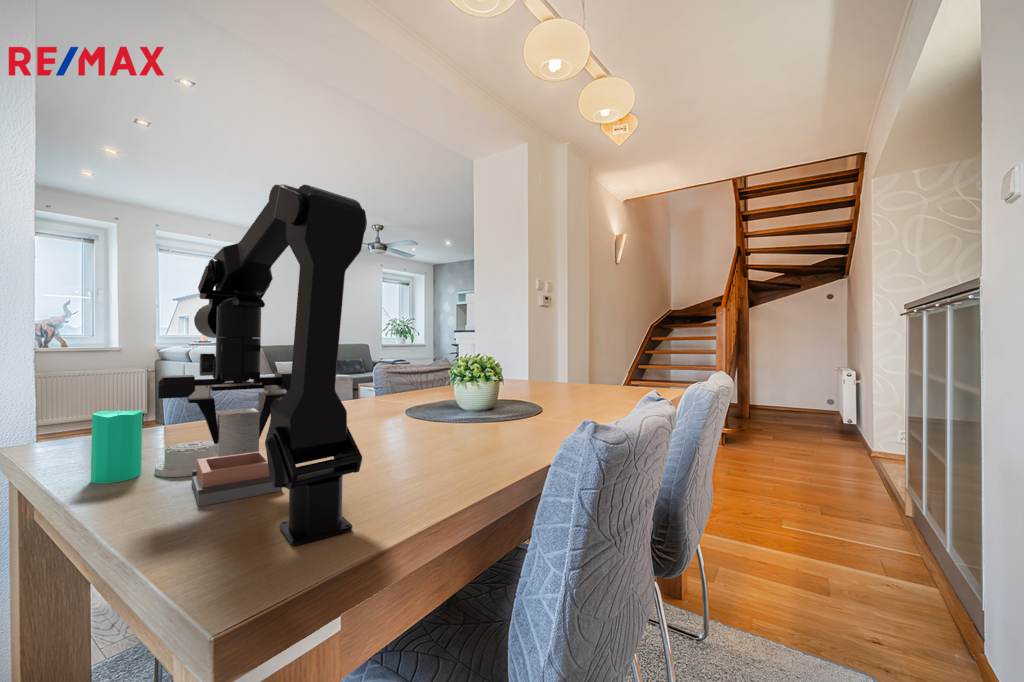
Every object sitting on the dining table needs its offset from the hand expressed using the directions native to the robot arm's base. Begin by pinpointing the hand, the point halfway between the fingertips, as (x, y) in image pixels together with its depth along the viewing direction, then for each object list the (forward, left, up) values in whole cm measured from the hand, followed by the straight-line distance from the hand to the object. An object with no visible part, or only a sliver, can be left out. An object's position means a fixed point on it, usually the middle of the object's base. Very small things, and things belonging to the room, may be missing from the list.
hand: (237, 440), depth 64 cm
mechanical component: (+16, +4, -8) cm, 18 cm away
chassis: (0, 0, -7) cm, 7 cm away
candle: (+17, +14, -7) cm, 23 cm away
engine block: (0, 0, -2) cm, 2 cm away
